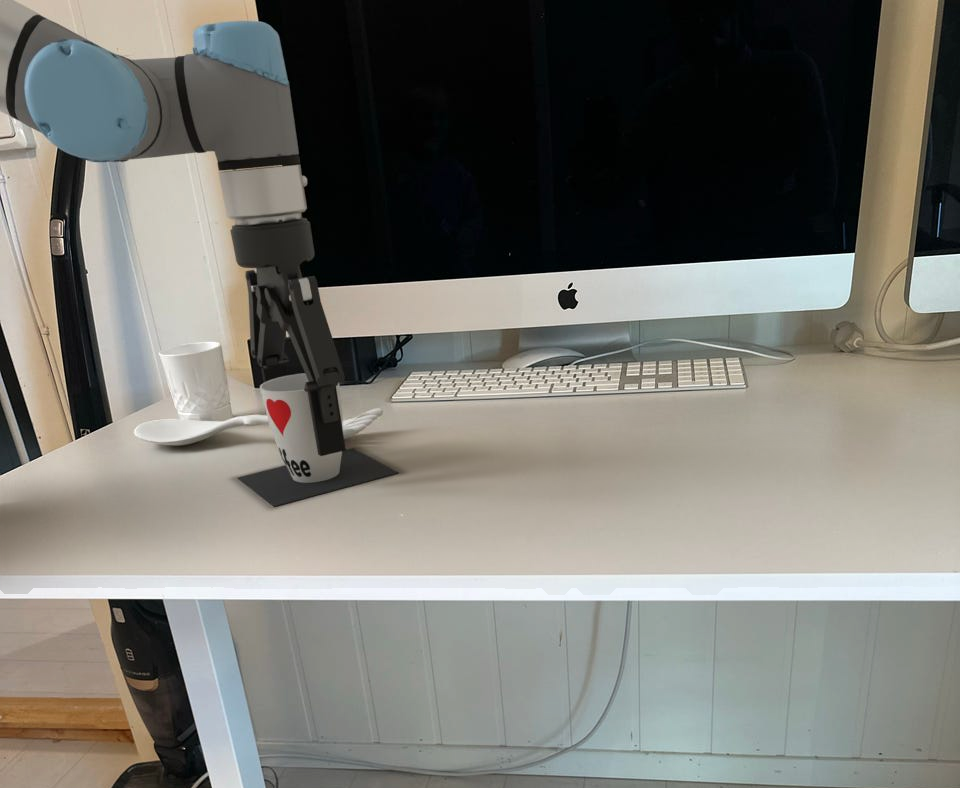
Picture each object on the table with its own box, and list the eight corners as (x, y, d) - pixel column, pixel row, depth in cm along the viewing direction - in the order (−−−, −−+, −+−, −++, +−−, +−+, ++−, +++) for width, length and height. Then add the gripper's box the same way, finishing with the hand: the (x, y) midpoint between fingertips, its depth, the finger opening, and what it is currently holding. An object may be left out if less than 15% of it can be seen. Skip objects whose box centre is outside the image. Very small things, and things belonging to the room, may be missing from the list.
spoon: (357, 456, 103) (352, 426, 101) (124, 454, 113) (116, 426, 111) (387, 432, 110) (383, 404, 109) (166, 432, 120) (159, 406, 118)
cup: (270, 473, 100) (250, 382, 95) (339, 457, 103) (324, 368, 98) (291, 493, 93) (272, 396, 89) (364, 475, 96) (349, 380, 92)
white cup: (244, 423, 120) (227, 346, 115) (185, 437, 117) (166, 358, 112) (228, 412, 126) (211, 339, 122) (172, 425, 123) (152, 349, 119)
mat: (274, 506, 91) (273, 505, 91) (237, 478, 100) (237, 477, 100) (398, 473, 96) (398, 472, 96) (353, 449, 106) (353, 448, 106)
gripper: (358, 217, 78) (390, 456, 88) (263, 212, 97) (298, 409, 107) (275, 227, 75) (318, 474, 85) (194, 220, 94) (237, 422, 104)
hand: (307, 438), depth 96 cm, fingers open, 13 cm apart
